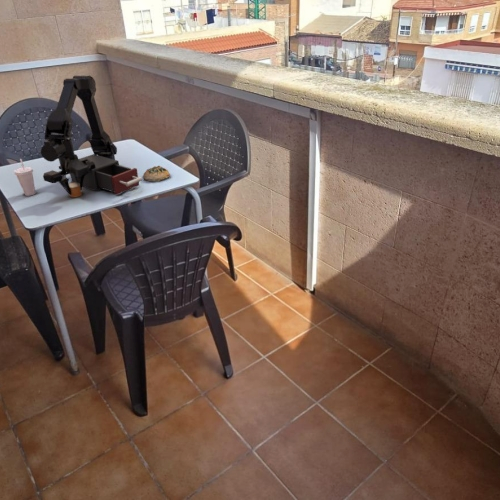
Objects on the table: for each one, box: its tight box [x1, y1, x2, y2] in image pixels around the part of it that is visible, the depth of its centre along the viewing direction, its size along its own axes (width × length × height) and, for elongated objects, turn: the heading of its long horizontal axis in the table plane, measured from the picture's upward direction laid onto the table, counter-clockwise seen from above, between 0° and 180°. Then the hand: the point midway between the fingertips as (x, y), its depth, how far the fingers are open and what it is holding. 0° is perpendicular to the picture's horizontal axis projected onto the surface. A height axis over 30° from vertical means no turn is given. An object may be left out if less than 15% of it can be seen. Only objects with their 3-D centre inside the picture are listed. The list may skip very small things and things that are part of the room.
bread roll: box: [142, 165, 170, 182], centre depth 178 cm, size 11×11×5 cm
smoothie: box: [13, 158, 36, 197], centre depth 162 cm, size 6×6×14 cm
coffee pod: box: [69, 182, 83, 198], centre depth 163 cm, size 5×5×4 cm
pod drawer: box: [94, 164, 143, 195], centre depth 166 cm, size 19×11×7 cm, turn 55°
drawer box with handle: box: [69, 153, 120, 192], centre depth 173 cm, size 16×13×9 cm
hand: (75, 192), depth 164 cm, fingers closed on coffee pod, 4 cm apart
